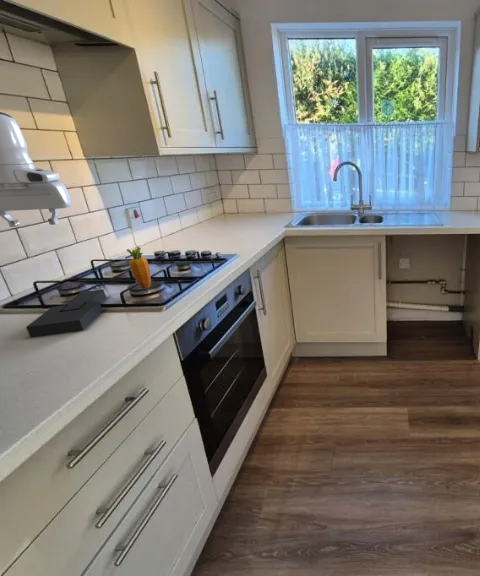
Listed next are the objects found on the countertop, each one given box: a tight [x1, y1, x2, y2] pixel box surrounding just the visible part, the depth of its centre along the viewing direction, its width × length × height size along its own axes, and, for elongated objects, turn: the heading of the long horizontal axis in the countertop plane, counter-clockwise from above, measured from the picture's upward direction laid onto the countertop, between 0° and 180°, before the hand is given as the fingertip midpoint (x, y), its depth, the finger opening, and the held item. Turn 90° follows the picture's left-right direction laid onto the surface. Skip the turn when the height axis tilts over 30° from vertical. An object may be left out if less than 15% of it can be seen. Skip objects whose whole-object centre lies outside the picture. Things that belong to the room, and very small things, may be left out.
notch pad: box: [25, 302, 104, 338], centre depth 98 cm, size 12×12×3 cm
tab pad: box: [62, 288, 107, 312], centre depth 106 cm, size 6×14×3 cm, turn 16°
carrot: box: [126, 246, 152, 292], centre depth 115 cm, size 5×5×15 cm
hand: (35, 225), depth 104 cm, fingers open, 8 cm apart
